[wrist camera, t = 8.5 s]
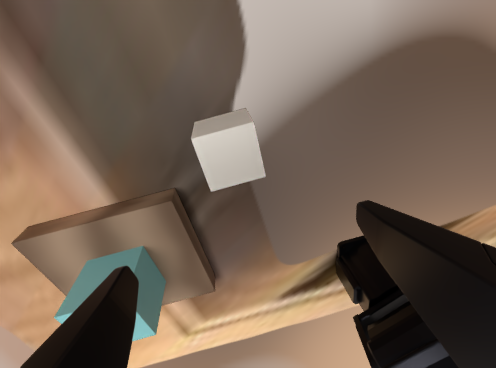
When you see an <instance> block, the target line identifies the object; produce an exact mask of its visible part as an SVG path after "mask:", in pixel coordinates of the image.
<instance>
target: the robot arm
mask: <svg viewBox="0 0 496 368" xmlns="http://www.w3.org/2000/svg"><path fill="white" fill-rule="evenodd" d="M356 220H357V224H358V226H359V227H360V229H361V231H362V233H363V234H364V236H360V237H356V238H353V239H349V240H345V241H342V242H340V243H338V245H337V249H338V258H337V260H336V271H337V275H338V277H339V279H340V280H341V282H342V284H343V286H344V287H345V289H346V291H347V293H348V294H349V296H350V298H351V300H352V302H353V303H355V304H360V306H361V307H362V309H363V311H364V312H362V313H361V314H359V315H358V314H357V315H355V316H354V317H353V319H354V322H355V324H356V329H357V331H358V334H359V337H360V339H361V342H362V345H363V347H364V350H365V352H366V355H367V358H368V360H369V363H370V366H371V367H372V368H496V248H495V247H492V246H490V245H487V244H484V243H482V244H481V242H479V241H476V240H474V239H471V238H468V237H466V236H463V235H460V234H458V233H455V232H452V231H450V230H447V229H444V228H442V227H439V226H436V225H433V224H431V223H428V222H426V221H423V220H420V219H418V218H415V217H412V216H409V215H407V214H404V213H401V212H399V211H396V210H394V209H390V208H388V207H385V206H383V205H380V204H378V203H374V202H372V201H369V200H367V201H363V202H359V203H358V204H357V210H356ZM138 290H139V281H138V278H137V277H136V275H135V274H134V273H133V271H132V270H131V269H130V267H129V266H121V267H118V268H116V269H114V270H113V271H112V272H111V273H110V274H109V275H108V277H107V278H106V279H105V280H104V281H103V282H102V283H101V284H100V285H99V286H98V287H97V288H96V289H95V290H94V291H93V292H92V293H91V294H90V295H89V296H88V297H87V298H86V299H85V300H84V301H83V302H82V304H81V305H80V306H79V307H78V308H77V309H76V310H75V311H74V312H73V313H72V314H71V315H70V316H69V317H68V318H67V319H66V320H65V321H64V322H63V323H62V324H61V325H60V326H59V327H58V328H57V329H56V330H55V332H54V333H53V334H52V335H51V336H50V337H49V338H48V339H47V340H46V341H45V342H44V343H43V344H42V345H41V346H40V347H39V348H38V349H37V350H36V351H35V352H34V353H33V354H32V355H31V357H29V359H28V360H27V361H26V362H25V363H24V364H23V365H22V366H21V367H20V368H127V365H128V360H129V355H130V349H131V344H132V339H133V334H134V328H135V322H136V312H137V301H138Z"/></svg>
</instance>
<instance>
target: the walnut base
mask: <svg viewBox="0 0 496 368" xmlns="http://www.w3.org/2000/svg"><path fill="white" fill-rule="evenodd" d="M11 244H12V245H13V246H14V247H15V248H16V249H17V250H18V251H19V252H21V253H22V254H23V255H24V256H25V257H26V258H27V259H28V260H29V261H30V262H31V263H32V264H33V265H34V266H35V267H36V268H37V269H38V270H39V271H40V272H42V273H43V274H44V275H45V276H46V277H47V278H48V279H49V280H50V281H51V282H52V283H53V284H54V285H55V286H56V287H57V288H58V289H59V290H60V291H61V292H63V293H64V294H65V295H66V296H67V295H68V293H69V291H70V289H71V288H72V286H73V284H74V283H75V281H76V279H77V277H78V276H79V274H80V272H81V271H82V269H83V267H84V265H85V264H86V262H87V261H88V260H92V259H96V258H99V257H103V256H107V255H110V254H114V253H118V252H122V251H125V250H129V249H133V248H136V247H140V246H144V248H145V249H146V251H147V253H148V254H149V256H150V257H151V259H152V260H153V262H154V263H155V265H156V266H157V268H158V269H159V271H160V273H161V274H162V276H163V277H164V279H165V280H166V284H165V290H164V295H163V300H162V305H166V304H170V303H174V302H177V301H181V300H185V299H189V298H192V297H196V296H200V295H203V294H207V293H211V292H215V275H214V273H213V270H212V268H211V266H210V264H209V262H208V260H207V257H206V255H205V253H204V251H203V249H202V246H201V244H200V242H199V240H198V238H197V235H196V233H195V231H194V229H193V227H192V225H191V222H190V220H189V218H188V216H187V214H186V211H185V209H184V207H183V205H182V203H181V200H180V198H179V196H178V194H177V192H176V190H175V188H173V189H169V190H166V191H162V192H158V193H154V194H151V195H147V196H143V197H139V198H135V199H132V200H128V201H124V202H120V203H116V204H113V205H109V206H105V207H101V208H98V209H94V210H90V211H86V212H82V213H79V214H75V215H71V216H67V217H63V218H60V219H56V220H52V221H48V222H45V223H41V224H37V225H33V226H29V227H27V228H26V229H25V230H24V231H23V232H22V233H21V234H20V235H19V236H18V237H17V238H16V239H15V240H14V241H13V242H12V243H11ZM162 305H161V306H162Z"/></svg>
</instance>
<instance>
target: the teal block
mask: <svg viewBox="0 0 496 368" xmlns="http://www.w3.org/2000/svg"><path fill="white" fill-rule="evenodd" d="M121 266H129V267H130V269H131V270H132V271H133V273H134V274H135V275H136V277H137V278H138V281H139V290H138V301H137V312H136V322H135V328H134V334H133V339H132V341H135V340H138V339H142V338H146V337H149V336H153V335H156V332H157V326H158V321H159V316H160V311H161V305H162V300H163V295H164V290H165V284H166V280H165V279H164V277H163V276H162V274H161V273H160V271H159V269H158V268H157V266H156V265H155V263H154V262H153V260H152V259H151V257H150V256H149V254H148V253H147V251H146V249H145V248H144V246H140V247H136V248H133V249H129V250H125V251H122V252H118V253H114V254H110V255H107V256H103V257H99V258H96V259H92V260H88V261H87V262H86V264H85V265H84V267H83V269H82V271H81V272H80V274H79V276H78V277H77V279H76V281H75V283H74V284H73V286H72V288H71V289H70V291H69V293H68V295H67V296H66V298H65V300H64V301H63V303H62V305H61V307H60V308H59V310H58V312H57V313H56V315H55V317H54V318H55V319H56V320H58V321H59V322H60V323H61V324H62V323H63V322H64V321H65V320H66V319H67V318H68V317H69V316H70V315H71V314H72V313H73V312H74V311H75V310H76V309H77V308H78V307H79V306H80V305H81V304H82V302H83V301H84V300H85V299H86V298H87V297H88V296H89V295H90V294H91V293H92V292H93V291H94V290H95V289H96V288H97V287H98V286H99V285H100V284H101V283H102V282H103V281H104V280H105V279H106V278H107V277H108V275H109V274H110V273H111V272H112V271H113V270H114V269H116V268H118V267H121Z"/></svg>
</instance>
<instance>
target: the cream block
mask: <svg viewBox="0 0 496 368" xmlns="http://www.w3.org/2000/svg"><path fill="white" fill-rule="evenodd" d="M191 140H192V143H193V146H194V148H195V151H196V154H197V156H198V159H199V161H200V164H201V167H202V169H203V172H204V175H205V177H206V180H207V183H208V185H209V188H210V191H211V192H212V191H216V190H219V189H223V188H227V187H230V186H234V185H238V184H241V183H245V182H249V181H252V180H256V179H259V178H263V177H266V175H265V170H264V166H263V161H262V157H261V153H260V148H259V143H258V138H257V134H256V129H255V125H254V121H253V120H252V118H251V116H250V115H249V113H248V111H247V110H246V108H243V109H240V110H236V111H233V112H229V113H226V114H222V115H219V116H215V117H211V118H208V119H204V120H200V121H197V122H195V123H194V128H193V132H192V137H191Z"/></svg>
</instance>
